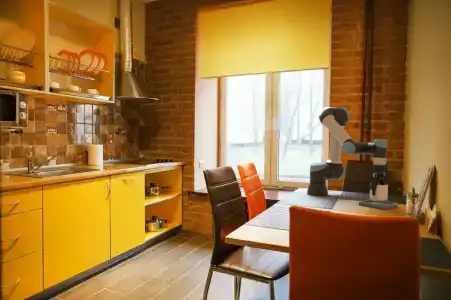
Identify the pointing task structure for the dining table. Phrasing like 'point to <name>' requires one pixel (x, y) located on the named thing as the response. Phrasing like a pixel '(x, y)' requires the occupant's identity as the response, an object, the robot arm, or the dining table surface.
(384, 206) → the tray
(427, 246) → the dining table surface
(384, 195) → the cup
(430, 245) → the dining table surface
